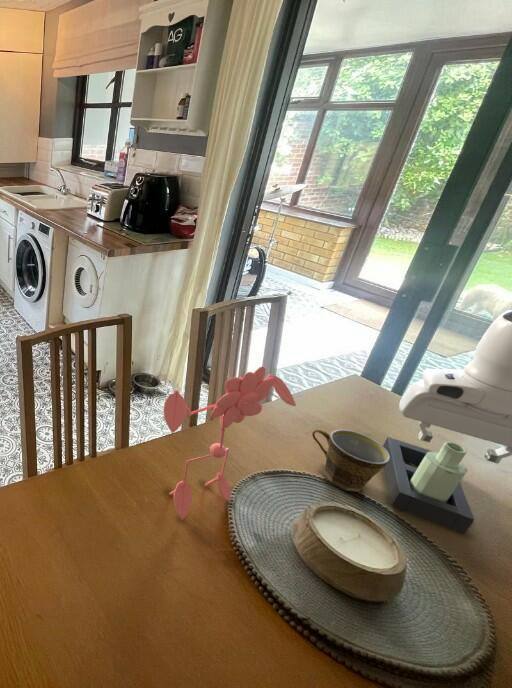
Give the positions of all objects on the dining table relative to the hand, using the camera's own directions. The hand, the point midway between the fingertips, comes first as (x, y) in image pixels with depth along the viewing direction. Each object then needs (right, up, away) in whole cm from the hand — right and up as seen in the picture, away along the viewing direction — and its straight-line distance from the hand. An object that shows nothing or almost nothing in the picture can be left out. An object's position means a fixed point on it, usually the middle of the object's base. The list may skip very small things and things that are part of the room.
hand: (456, 449), depth 80 cm
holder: (+2, -12, +10) cm, 15 cm away
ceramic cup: (-14, -10, +12) cm, 21 cm away
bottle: (0, -13, +6) cm, 15 cm away
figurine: (-47, -15, +2) cm, 50 cm away
